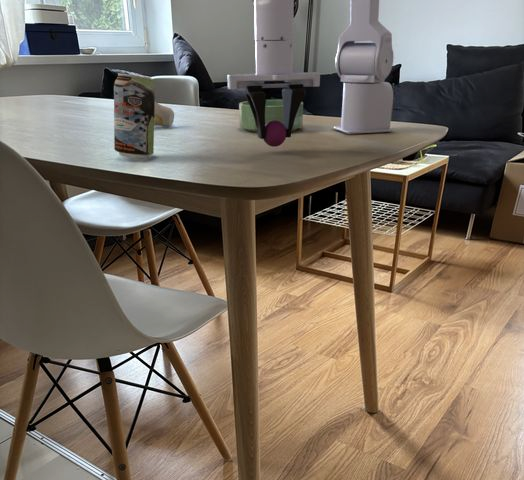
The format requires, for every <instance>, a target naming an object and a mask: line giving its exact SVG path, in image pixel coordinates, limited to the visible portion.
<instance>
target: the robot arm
mask: <svg viewBox="0 0 524 480" xmlns="http://www.w3.org/2000/svg"><path fill="white" fill-rule="evenodd" d="M294 1H295V0H251V3H252V4H253V5H254V40H255V45H254V47H255V73H241V74H227V78H226V79H227V90H230V91H231V90H232V91H233V90H243V94H244V97H245V98H246V101H248V103H249V105H250V108H251V110H252V113H253V116H254V119H255V123H256V127H257V132H256V134H257V138H259V139H261V140H264V139H265V134H266V130H265V105H266V100H267V93H266V92H265V90H264V89H272V88H273V89H275V88H282V90H281V97H282V100H283V111H284V117H283V125H284V126H285V128H286V132H287V135H286V138H291V137H292V134H293V133H292V132H293V131H292V128H293V124H294V120H295V117H296V114H297V111H298V109H299V107H300V104H301V102H303V100H304V98H305V97H306V92H307V91H306V90H307V89H306V87H313V88H314V87H317V88H319V87H320V86H321V85H320V84H321V72H315V71H314V72H313V71H312V72H293V71H294V69H293V67H294V60H293V59H294V13H295V12H294V10H295V9H294V7H295V5H294V4H295V2H294ZM379 12H380V0H350V11H349V13H350V14H349V15H350V18H349V25H348V26H347V27H346V28H345V30H344V31H343V32H342V33H340V35H339V36H338V45H337V53H336V55H335V62H334V64H335V70H336V71H335V72H336V74H337V75H338V77H339V78H340V82H342V83H343V89H342V102H341V103H342V104H341V105H342V107H341V119H340V120H341V121H340V125H335V126H333V129H334V130H336V131H339V132H341V133H345V134H350V135H353V134H354V135H355V134H369V133H390V132H392V128H391V121H392V113H393V104H394V103H393V102H394V89H393V86H392V84H391V83H390V82H388V81H385V80H386V79H387V78H388V76H389V75H390V74H391V72H392V69H393V66H394V50H393V33H392V32H391V31H390V30H389V29H387V28H386V27H385V25H383V24H382V23H381V22H380V21H379V14H380V13H379ZM282 81H283V82H284V83H265V82H282ZM304 87H305V88H304Z"/></svg>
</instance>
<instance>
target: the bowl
mask: <svg viewBox="0 0 524 480" xmlns="http://www.w3.org/2000/svg"><path fill="white" fill-rule="evenodd" d="M238 113H239V116H238V117H239V127H240V128H241V129H245V130H246V131H248V132H253V133H257V127H256V123H255V119H254V116H253V113H252V110H251V108H250V105H249V103H248V101H247V100H246V101H241V102H239V103H238ZM283 117H284V111H283V99H266V105H265V125H266V124H267V123H268V122H269V121H272V120H277V121H280V122H281V123H283ZM303 121H304V102H303V101H302V102H301V104H300V107H299V109H298V111H297V114H296V117H295V120H294V124H293V128H292V132H294V131H296V130H297V129H300V128H302V127H303V123H304V122H303Z"/></svg>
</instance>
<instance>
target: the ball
mask: <svg viewBox="0 0 524 480" xmlns="http://www.w3.org/2000/svg"><path fill="white" fill-rule="evenodd" d="M265 130H266V134H265V139H263V141H264V143H265V145H266V144H267V145H268V146H269V147H272V148H275V147H279V146H281V145H282V144H284V143H285V141H286V139H287V137H286V135H287V132H286V128H285V126H284V125H283V123H281V122H280V121H277V120H272V121H269V122H268V123H267V124H266V125H265Z"/></svg>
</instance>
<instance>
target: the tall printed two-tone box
mask: <svg viewBox="0 0 524 480" xmlns="http://www.w3.org/2000/svg"><path fill="white" fill-rule="evenodd" d="M155 87H156V86H155V85H154V84H153V81H152V77H148V76H142V75H134V74H128V73H127V74H126V73H120V72H119V73H117V77H116V78H115V80H114V82H113V119H114V120H113V130H114V131H113V134H114V135H113V136H114V137H113V139H114V142H113V143H114V145H113V146H114V148H113V149H114V151H116V152H117V153H118V155H119V156H121V157H125V158H131V159H149V157H150V156H152V155H153V154H154V151H155V149H154V147H155V146H154V145H155V126H154V111H155V102H156V88H155Z"/></svg>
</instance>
